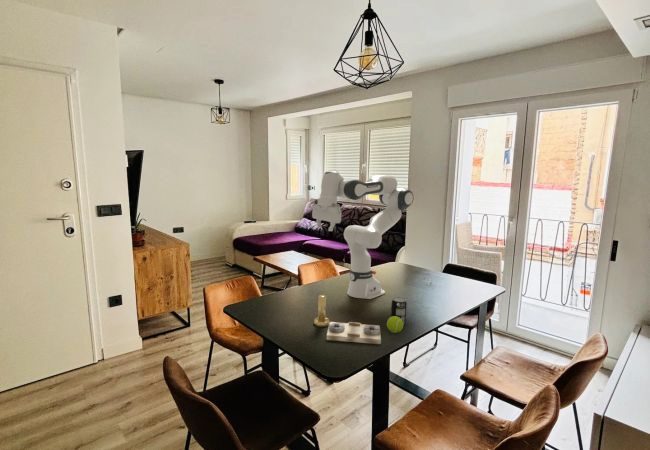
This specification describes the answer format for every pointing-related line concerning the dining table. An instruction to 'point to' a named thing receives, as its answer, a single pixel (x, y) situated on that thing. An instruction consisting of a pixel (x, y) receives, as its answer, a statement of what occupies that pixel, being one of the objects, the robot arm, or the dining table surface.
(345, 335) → the gear board
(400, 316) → the beverage can
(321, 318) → the gold flanged post
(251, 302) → the dining table surface
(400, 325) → the tennis ball
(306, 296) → the dining table surface
